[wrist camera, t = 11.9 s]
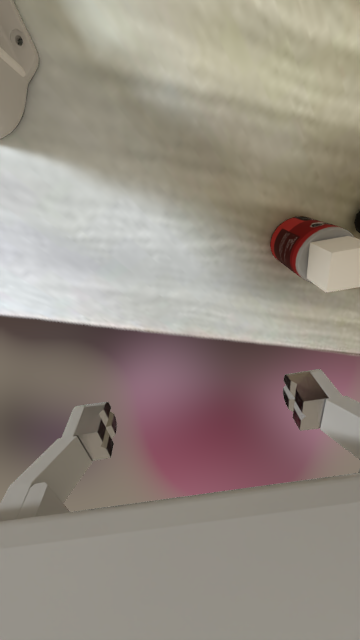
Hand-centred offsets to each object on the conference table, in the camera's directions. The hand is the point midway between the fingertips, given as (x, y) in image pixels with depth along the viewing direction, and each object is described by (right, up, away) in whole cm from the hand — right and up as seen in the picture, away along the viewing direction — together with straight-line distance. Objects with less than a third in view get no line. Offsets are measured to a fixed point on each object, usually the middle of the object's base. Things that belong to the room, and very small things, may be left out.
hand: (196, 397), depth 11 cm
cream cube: (+19, +12, +22) cm, 32 cm away
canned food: (+19, +18, +32) cm, 41 cm away
